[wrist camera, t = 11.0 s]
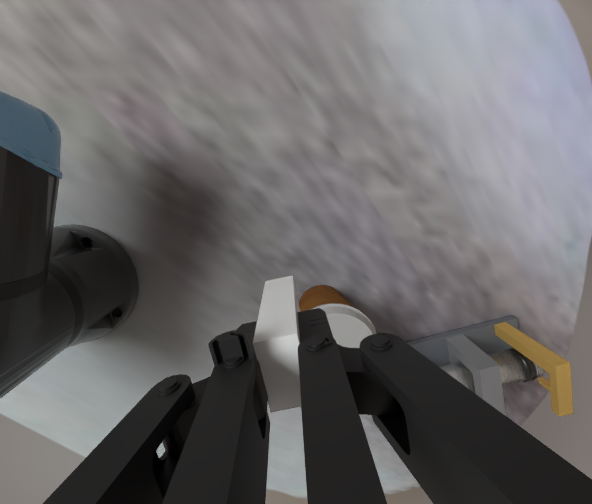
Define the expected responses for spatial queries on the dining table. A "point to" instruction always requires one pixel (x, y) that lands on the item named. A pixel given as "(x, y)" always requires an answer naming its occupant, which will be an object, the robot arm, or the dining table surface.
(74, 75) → the dining table surface
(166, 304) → the dining table surface
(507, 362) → the aluminium tube
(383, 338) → the robot arm
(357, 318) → the disposable coffee cup
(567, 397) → the collar bench
